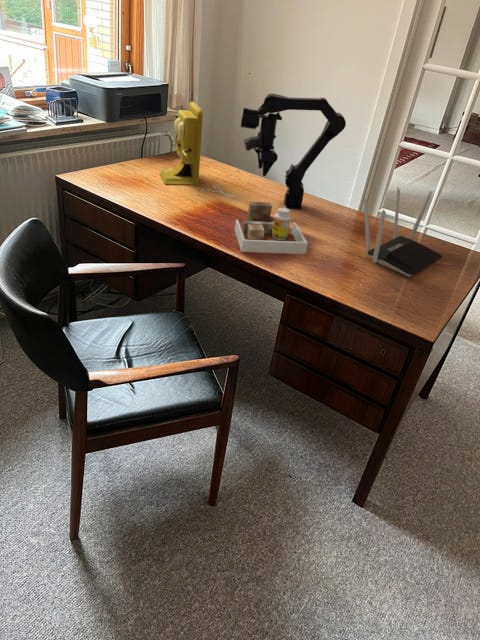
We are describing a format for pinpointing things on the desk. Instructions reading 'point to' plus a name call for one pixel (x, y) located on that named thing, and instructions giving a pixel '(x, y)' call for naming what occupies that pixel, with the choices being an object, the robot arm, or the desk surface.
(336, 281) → the desk surface
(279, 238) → the supplement bottle
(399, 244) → the wireless router
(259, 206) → the wooden block frame
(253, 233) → the pale wooden block
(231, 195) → the scissors
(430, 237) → the desk surface
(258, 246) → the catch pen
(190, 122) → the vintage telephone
